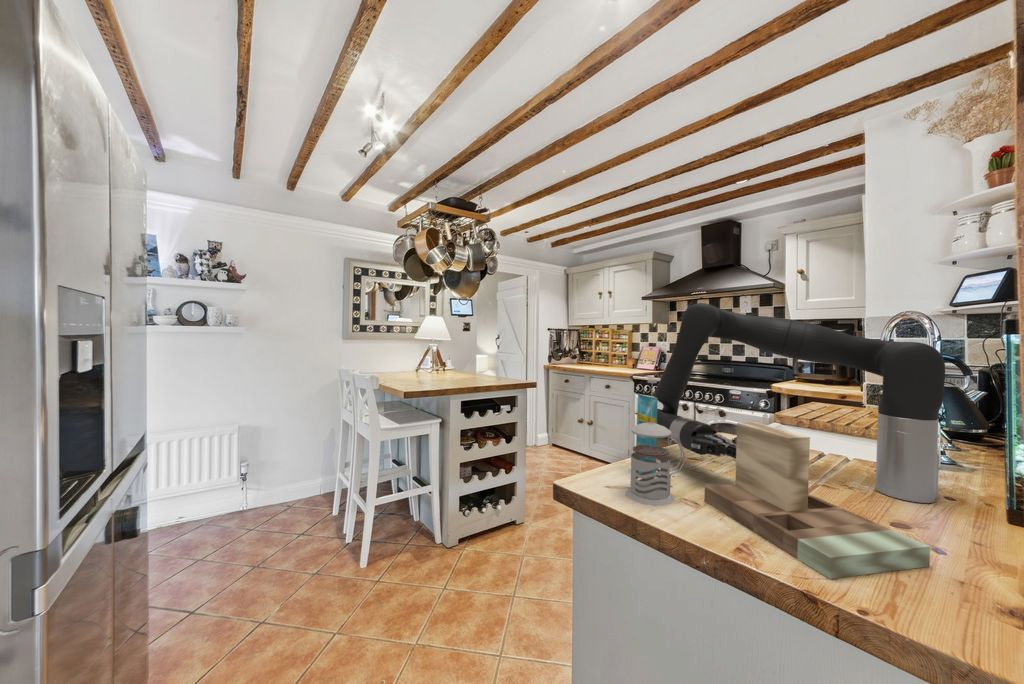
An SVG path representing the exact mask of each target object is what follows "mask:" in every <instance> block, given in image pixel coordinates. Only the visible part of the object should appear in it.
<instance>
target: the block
mask: <svg viewBox="0 0 1024 684" xmlns="http://www.w3.org/2000/svg"><path fill="white" fill-rule="evenodd" d="M736 437H737V446H736V459H735V485H736V486H738V487H740V488H742V489H744V490H746V491H747V492H749V493H751V494H753V495H755V496H757V497H759V498H761V499H763V500H765V501H767V502H769V503H771V504H773V505H775V506H777V507H779V508H781V509H783V510H785V511H795V510H807V509H808V494H809V479H810V478H809V477H810V451H811V450H810V445H811V437H810V436H807V435H803V434H799V433H796V432H794V431H793V432H792V431H789V430H785V429H782V428H778V427H774V426H772V425H768V424H764V423H760V422H756V421H753V422H737V423H736Z"/></svg>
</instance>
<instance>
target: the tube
mask: <svg viewBox="0 0 1024 684" xmlns="http://www.w3.org/2000/svg"><path fill="white" fill-rule="evenodd" d="M657 409H658V400H657V398H655V397H654V396H652V422H653V423H656V424H657ZM636 413H637V414H636V425H638V424H641V423H649V422H651V396H649V395H644V394H640V393H637V412H636ZM635 441H636V444H635V446H638V445H648V446H649V445H650V437H644V436H639V435H636V440H635ZM657 443H658V438H652V437H651V446H652V445H653V446H656V447H658V444H657ZM644 460H654V461H656V462H657V460H658V459H656V458H653V457H644V458H642V459H641V460H640V461H644ZM651 471H652V472H657V471H656V470H651ZM641 473H643V472H638V474H641ZM646 475H648V474H646ZM652 478H655V476H652Z"/></svg>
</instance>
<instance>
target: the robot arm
mask: <svg viewBox="0 0 1024 684" xmlns="http://www.w3.org/2000/svg"><path fill="white" fill-rule="evenodd" d="M677 335H678V336H677V338H676V341H675V345H674V347H673V351H672V352H671V355H670V358H669V359H668V362H667V364H666V366H665V369H664V370H663V373H662V375H661V377H660V379H659V381H658V384H657V386H656V389H655V391H654V396H653V397H655V398H657V402H659V403H661V404H663V407H662V409H661V408H657V424H659V425H661V426H664V427H666V428H667V429H668V430H670V431H671V433H672V434H671V435H670V436H669V437H672V438H673V439H675V440H676V441H677V442H679V443H680V444H681V445H682V447H683V449H686V450H688V451H690V452H693V453H694V454H697V455H701V456H705V455H711V456H717V457H720V456H724V457H726V458H728V457H731V458H732V459H735V460H736V446H737V436H736V437H734V438H731V439H729V438H727V437H725V436H723V435H722V434H720V433H718V432H717V431H716V429H715V428H714V427H713V426H711V425H710V424H709V423H708V424H707V423H705V422H701V421H698V420H696V419H693V418H689V417H684V416H681V415H678V411H679V406H680V401H681V399H682V397H683V395H684V392H685V390H686V388H687V386H688V383H689V380H690V378H691V375H692V371H693V369H694V365H695V362H696V360H697V358H698V356H699V353H700V351H701V349H702V347H703V346H704V345H705V344H706V342H707V340H708V338H716V339H717V338H718V339H724V340H728V341H729V340H730V341H735V342H739V343H742V344H744V345H748V346H749V347H753V348H755V349H758V350H760V351H764V352H767V353H770V354H772V355H773V354H774V355H778V356H781V357H786V358H789V359H795V360H799V361H805V362H810V363H819V364H828V365H838V366H844V367H848V368H853V369H857V370H860V371H864V372H866V373H870V374H873V375H875V376H880V377H882V391H881V396H880V399H879V401H878V405H877V406H878V408H877V431H876V432H877V435H876V437H877V438H876V460H875V461H876V462H875V463H876V464H875V466H876V467H875V488H874V489H875V490H876V491H877V492H879V493H881V494H884V495H886V496H889V497H892V498H895V499H898V500H903V501H907V502H914V503H923V504H930V503H932V504H933V503H935V502H936V500H937V499H938V498H939V497H938V495H939V493H938V492H939V476H940V475H939V471H940V470H939V469H940V455H939V454H938V444H939V443H938V440H939V439H938V438H939V434H938V433H939V418H940V417H939V414H940V410H941V408H942V407H943V403H944V395H945V393H944V392H945V384H946V383H945V381H946V363H945V360H944V357H943V355H942V354H941V352H940V351H939V350H938V349H936V348H935V347H933V346H931V345H930V344H927V343H923V342H916V341H892V340H885V339H884V340H883V339H876V338H868V337H867V338H866V337H861V336H858V335H857V336H855V335H851V334H850V333H849V334H848V333H847V332H846V333H845V332H843V331H839V330H836V329H833V328H831V327H827V326H822V325H819V324H815V323H812V322H806V321H802V320H796V319H789V318H784V317H783V318H782V317H775V316H766V315H765V316H762V315H751V314H750V315H749V314H748V315H747V314H743V313H738V312H734V311H730V310H727V309H723V308H720V307H717V306H714V305H712V304H709V303H704V302H696V303H694V304H692V305H690V306H688V307H687V308H686V309H685V310H684V312H683V314H682V318H681V323H680V327H679V331H678V334H677ZM669 437H665V439H666V440H668V438H669ZM670 440H671V438H670V439H669V441H670ZM672 442H674V443H675V444H677V443H676V442H675V441H672Z"/></svg>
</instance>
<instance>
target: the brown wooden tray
mask: <svg viewBox="0 0 1024 684" xmlns="http://www.w3.org/2000/svg"><path fill="white" fill-rule="evenodd" d="M704 502H706V503H707V504H709V505H710V506H712V507H714V508H715V509H716V510H718V511H720V512H722V513H723V514H725V515H727V516H728V517H730V518H732V519H733V520H734V521H736V522H738V523H740V524H741V525H743V526H744V527H746V528H747V529H749V530H751V531H752V532H754V533H755V534H756V535H758V536H760V537H762V538H763V539H765V540H766V541H768V542H770V543H771V544H773V545H774V546H776V547H778V548H779V549H781V550H783V551H784V552H786V553H788V554H789V555H790V556H792V557H794V558H796V560H798V561H801V562H802V563H803V564H805V565H807V566H808V567H810V568H812V569H813V570H814V571H816V572H818V573H819V574H821V575H822V576H824V577H826V578H827V579H829V580H831V579H832V580H833V579H839V578H840V579H841V578H848V577H857V576H864V575H873V574H880V573H886V572H887V573H888V572H895V571H903V570H904V571H905V570H912V569H918V568H926V567H927V568H928V567H930V561H931V559H930V558H931V556H930V555H931V546H930V545H928V544H925V543H923V542H920V541H918V540H917V539H915V538H911V537H909V536H907V535H905V534H903V533H900V532H898V531H895V530H893V529H891V528H888V527H886V526H884V525H881V524H879V523H877V522H874V521H873V520H870V519H869V518H865V517H863V516H861V515H858V514H856V513H855V512H854V513H853V512H851V511H850V510H847V509H845V508H842V507H839V506H837V505H835V504H833V503H830V502H828V501H825V500H823V499H822V498H819V497H817V496H814V495H812V494H810V493H808V509H807V510H795V511H785V510H783V509H781V508H779V507H777V506H775V505H773V504H771V503H769V502H767V501H765V500H763V499H761V498H759V497H757V496H755V495H753V494H751V493H749V492H747V491H746V490H744V489H742V488H740V487H738V486H736V485H735V484H734V483H733V484H722V485H720V484H719V485H706V486H704Z"/></svg>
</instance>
